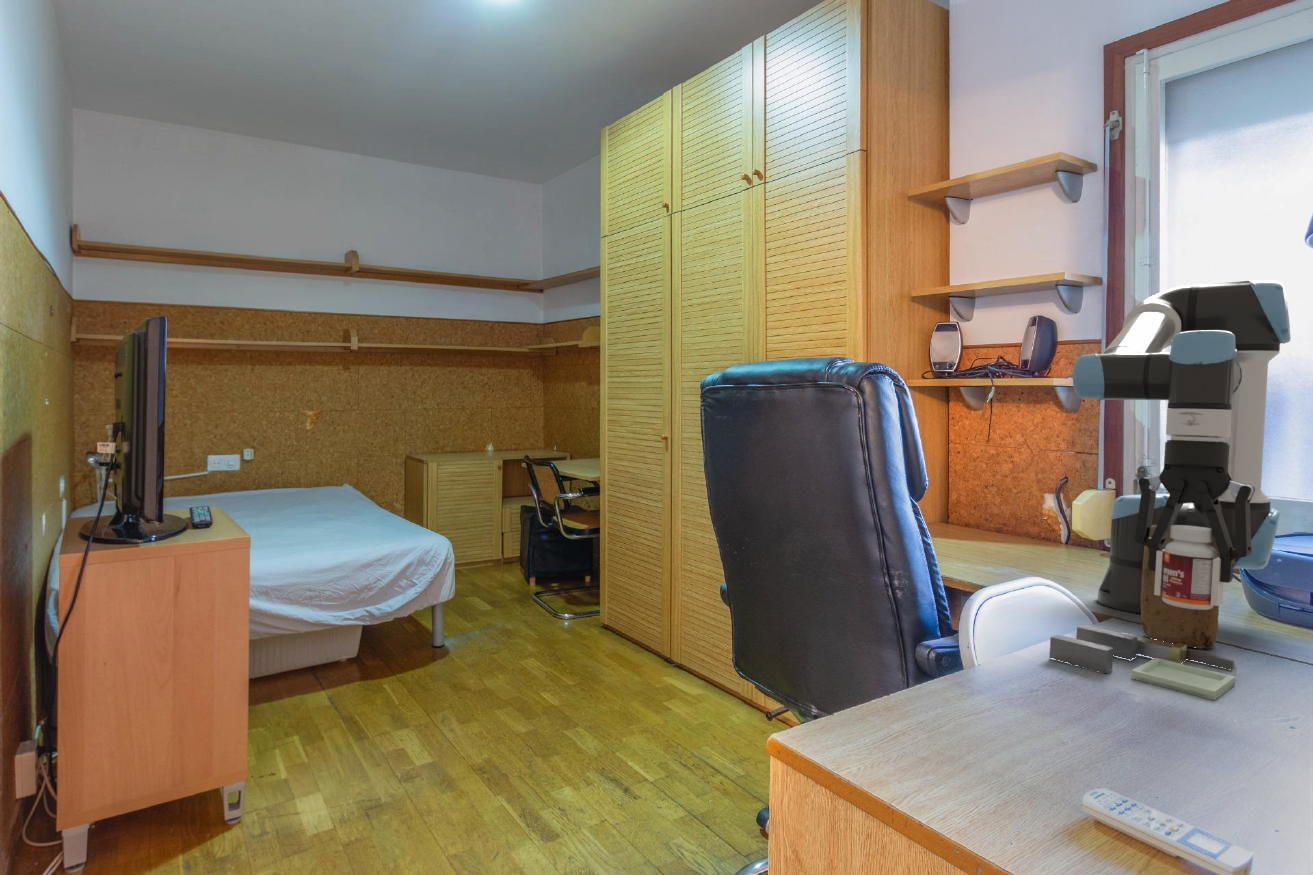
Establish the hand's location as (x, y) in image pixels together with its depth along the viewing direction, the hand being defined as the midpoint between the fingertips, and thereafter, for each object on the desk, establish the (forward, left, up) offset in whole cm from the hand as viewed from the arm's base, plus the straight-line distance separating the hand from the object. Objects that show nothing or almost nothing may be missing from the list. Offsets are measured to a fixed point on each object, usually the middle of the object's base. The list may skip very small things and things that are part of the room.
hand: (1187, 598), depth 108 cm
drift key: (-10, -8, -12) cm, 17 cm away
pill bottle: (0, 0, -1) cm, 1 cm away
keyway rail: (-13, -5, -12) cm, 18 cm away
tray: (0, 0, -12) cm, 12 cm away
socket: (0, -12, -12) cm, 17 cm away
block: (-23, -7, -12) cm, 27 cm away
